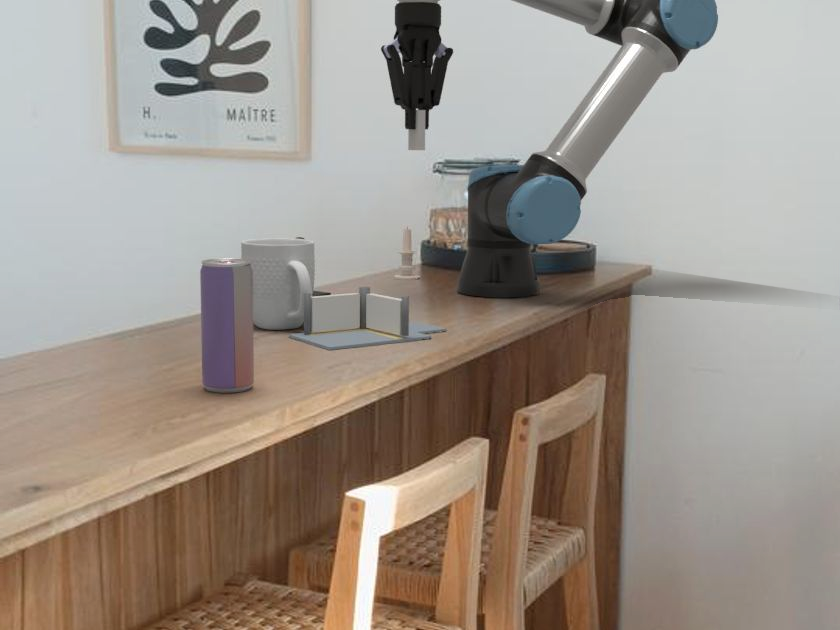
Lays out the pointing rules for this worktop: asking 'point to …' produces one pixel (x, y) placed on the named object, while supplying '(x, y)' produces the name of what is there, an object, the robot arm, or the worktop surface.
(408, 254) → the candle
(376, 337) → the card
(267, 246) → the mug
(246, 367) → the beverage can
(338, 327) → the fence fixed panel
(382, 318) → the panel
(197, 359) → the worktop surface
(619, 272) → the worktop surface
